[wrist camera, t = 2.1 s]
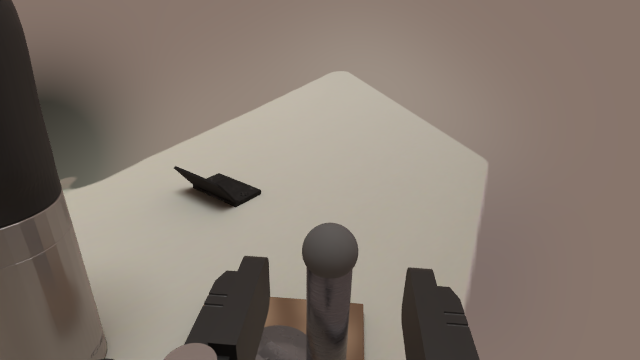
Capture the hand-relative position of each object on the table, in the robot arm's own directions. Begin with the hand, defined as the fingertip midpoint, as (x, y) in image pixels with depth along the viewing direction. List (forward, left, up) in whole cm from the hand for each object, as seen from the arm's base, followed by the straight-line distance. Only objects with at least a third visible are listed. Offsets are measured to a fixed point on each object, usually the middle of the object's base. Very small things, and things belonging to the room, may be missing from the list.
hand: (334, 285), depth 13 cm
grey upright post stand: (-4, +13, -22) cm, 26 cm away
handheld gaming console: (-21, +49, -24) cm, 59 cm away
